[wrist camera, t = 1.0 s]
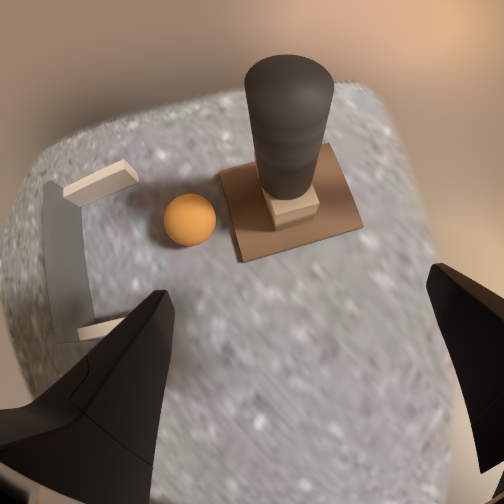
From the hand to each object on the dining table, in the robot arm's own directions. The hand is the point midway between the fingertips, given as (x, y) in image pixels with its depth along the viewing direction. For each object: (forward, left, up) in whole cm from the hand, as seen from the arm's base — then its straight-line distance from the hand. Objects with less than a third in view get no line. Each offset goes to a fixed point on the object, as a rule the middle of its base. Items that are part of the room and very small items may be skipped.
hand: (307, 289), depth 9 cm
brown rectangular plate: (+8, -2, -13) cm, 16 cm away
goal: (+8, +14, -13) cm, 21 cm away
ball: (+8, +6, -11) cm, 15 cm away
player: (+8, -2, -13) cm, 16 cm away
